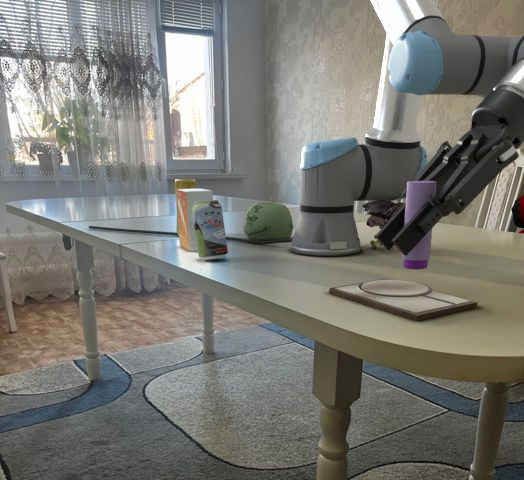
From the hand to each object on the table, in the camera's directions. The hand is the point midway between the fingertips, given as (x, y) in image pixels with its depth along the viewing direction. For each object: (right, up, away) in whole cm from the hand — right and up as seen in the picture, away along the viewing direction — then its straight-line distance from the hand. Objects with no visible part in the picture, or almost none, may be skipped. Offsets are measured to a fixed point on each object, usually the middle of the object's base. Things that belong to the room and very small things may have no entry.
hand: (390, 245), depth 71 cm
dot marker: (+4, -2, +2) cm, 5 cm away
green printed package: (-27, +5, +41) cm, 50 cm away
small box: (-32, +10, +55) cm, 64 cm away
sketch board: (+3, -6, +9) cm, 12 cm away
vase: (-37, +17, +74) cm, 85 cm away
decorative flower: (+13, +10, +54) cm, 56 cm away
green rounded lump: (-16, +15, +70) cm, 73 cm away
